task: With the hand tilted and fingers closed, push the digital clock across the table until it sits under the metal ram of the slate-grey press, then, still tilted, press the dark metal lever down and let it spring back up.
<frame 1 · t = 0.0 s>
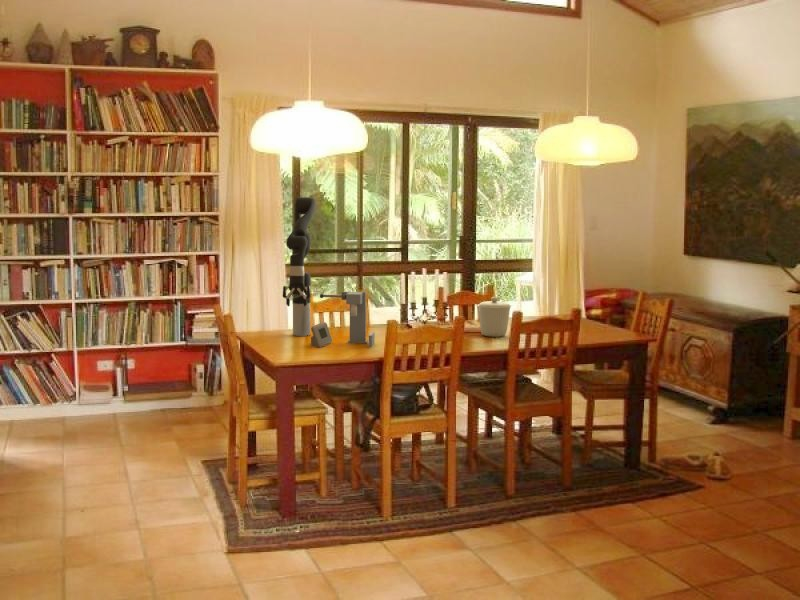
hand: (296, 306, 446), 17 cm above the table, tool pointing down, fingers open, 8 cm apart
canister: (493, 335, 464), on the table
press: (354, 345, 431), on the table
lever: (333, 296, 434), point 24 cm above the table, hinge at 0.0°
digital clock: (322, 345, 431), on the table
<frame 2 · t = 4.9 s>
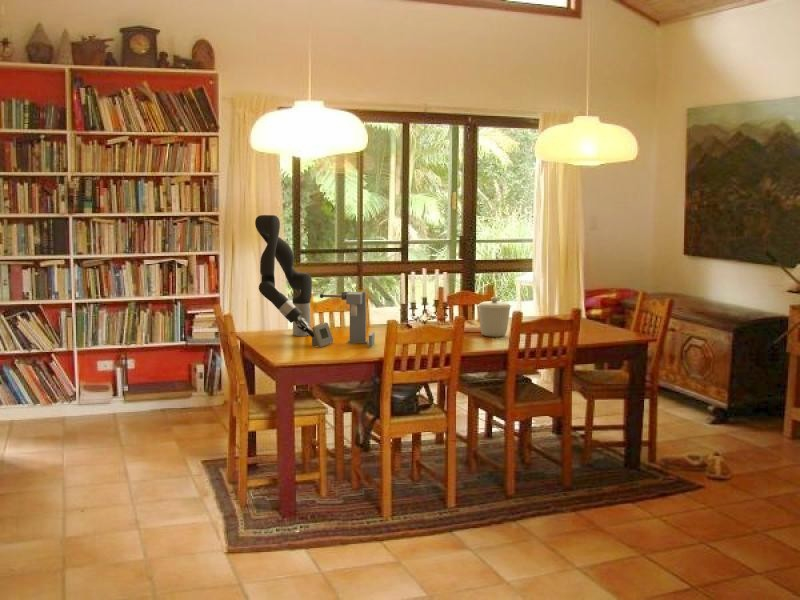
hand: (314, 336, 431), 4 cm above the table, tool tilted 45°, fingers closed
digital clock: (323, 345, 431), on the table, touching gripper
everything else where it was.
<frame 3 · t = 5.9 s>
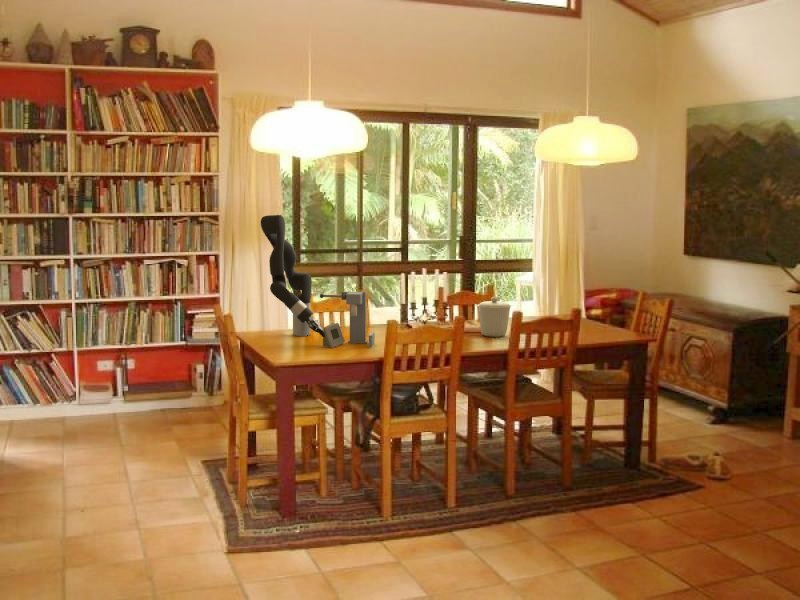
hand: (325, 336, 430), 4 cm above the table, tool tilted 45°, fingers closed
digital clock: (334, 346, 430), on the table, touching gripper
everything else where it was.
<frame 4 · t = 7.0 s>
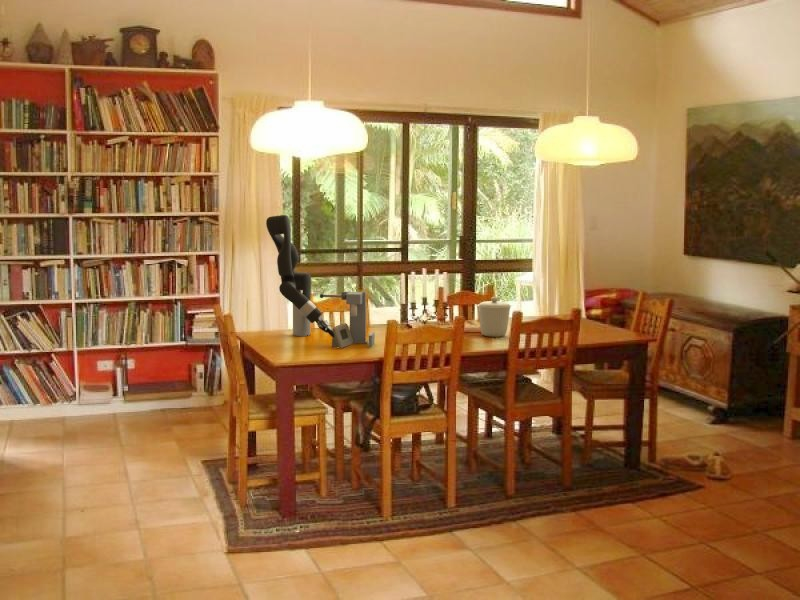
hand: (335, 336, 430), 4 cm above the table, tool tilted 45°, fingers closed
digital clock: (343, 346, 429), on the table
everything else where it was.
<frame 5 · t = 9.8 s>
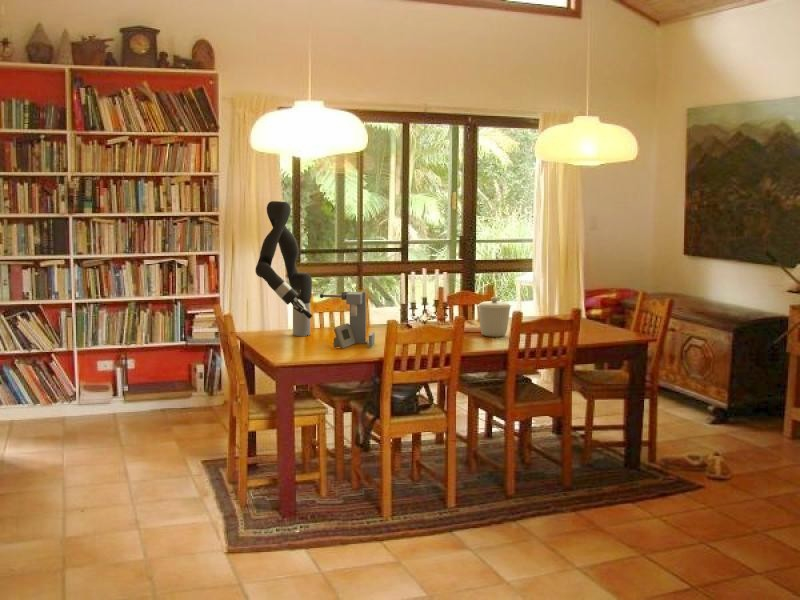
hand: (311, 317, 432), 14 cm above the table, tool tilted 45°, fingers closed
digital clock: (344, 346, 428), on the table
everything else where it was.
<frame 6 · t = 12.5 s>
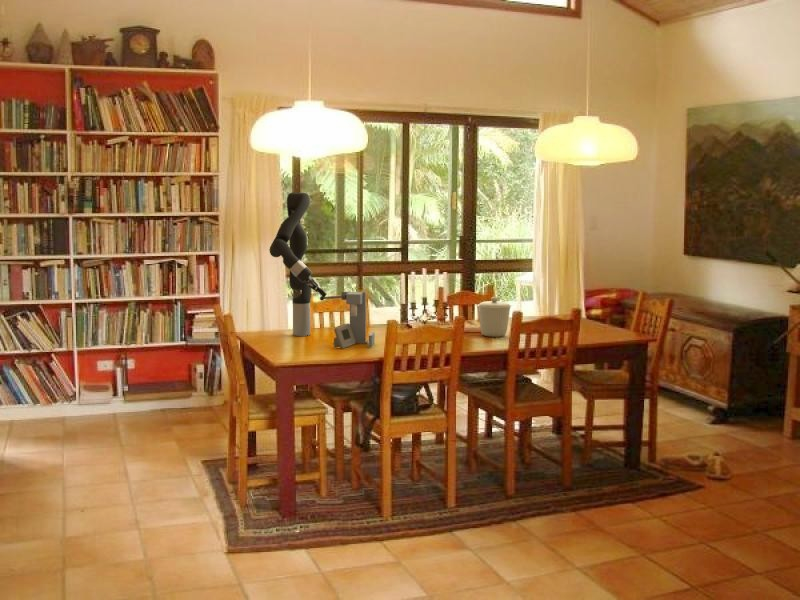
hand: (325, 295, 434), 24 cm above the table, tool tilted 45°, fingers closed
lever: (333, 297, 434), point 23 cm above the table, hinge at 6.2°, touching gripper
everything else where it was.
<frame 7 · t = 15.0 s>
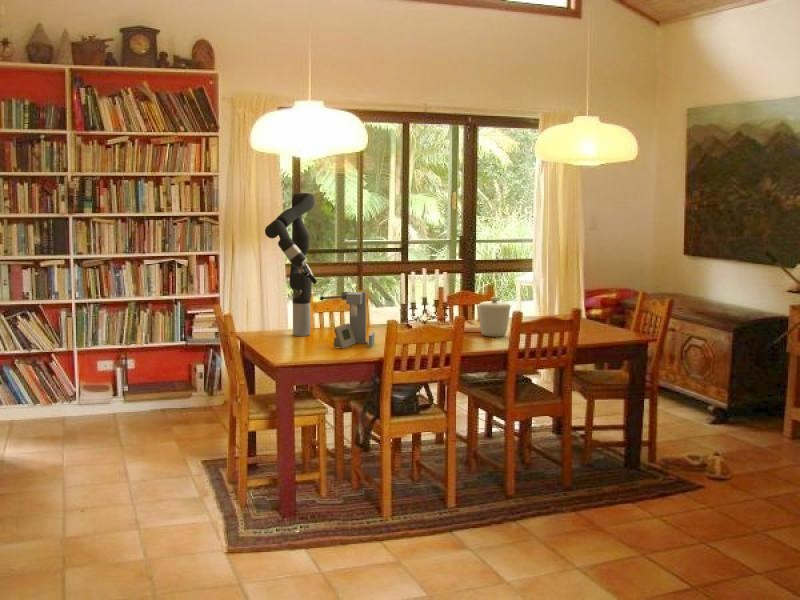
hand: (315, 283, 435), 30 cm above the table, tool tilted 35°, fingers closed
lever: (333, 297, 434), point 23 cm above the table, hinge at 6.0°
everything else where it was.
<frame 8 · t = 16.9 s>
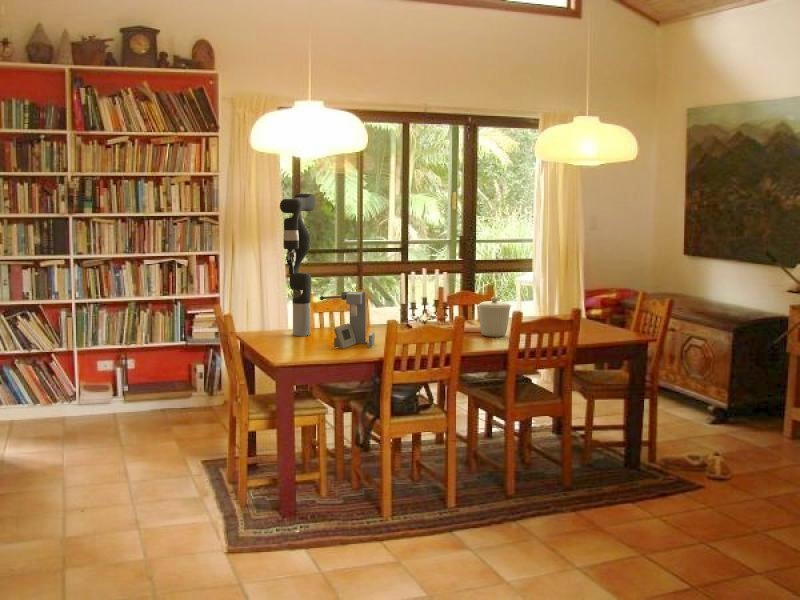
hand: (291, 274, 432), 35 cm above the table, tool pointing down, fingers closed
lever: (333, 297, 434), point 23 cm above the table, hinge at 5.6°
everything else where it was.
at the end: digital clock inside the target area on the press (3.2 cm from its centre), point 0.0 cm above the press's base; lever at +6° (first picture: +0°); digital clock tilted 0° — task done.
